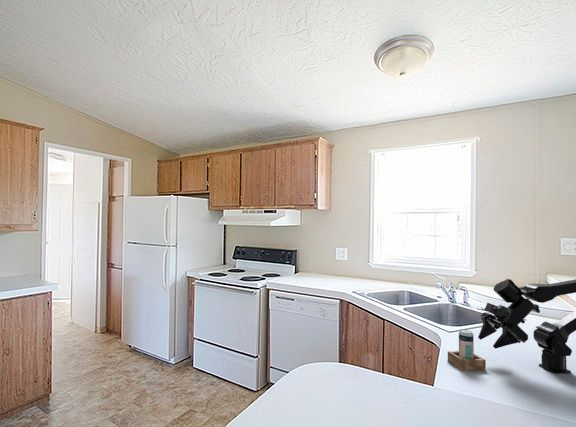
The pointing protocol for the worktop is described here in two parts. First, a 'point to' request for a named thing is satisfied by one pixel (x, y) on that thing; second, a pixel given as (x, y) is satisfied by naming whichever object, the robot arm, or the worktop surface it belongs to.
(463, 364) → the socket block
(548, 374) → the worktop surface
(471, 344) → the beer can
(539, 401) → the worktop surface
